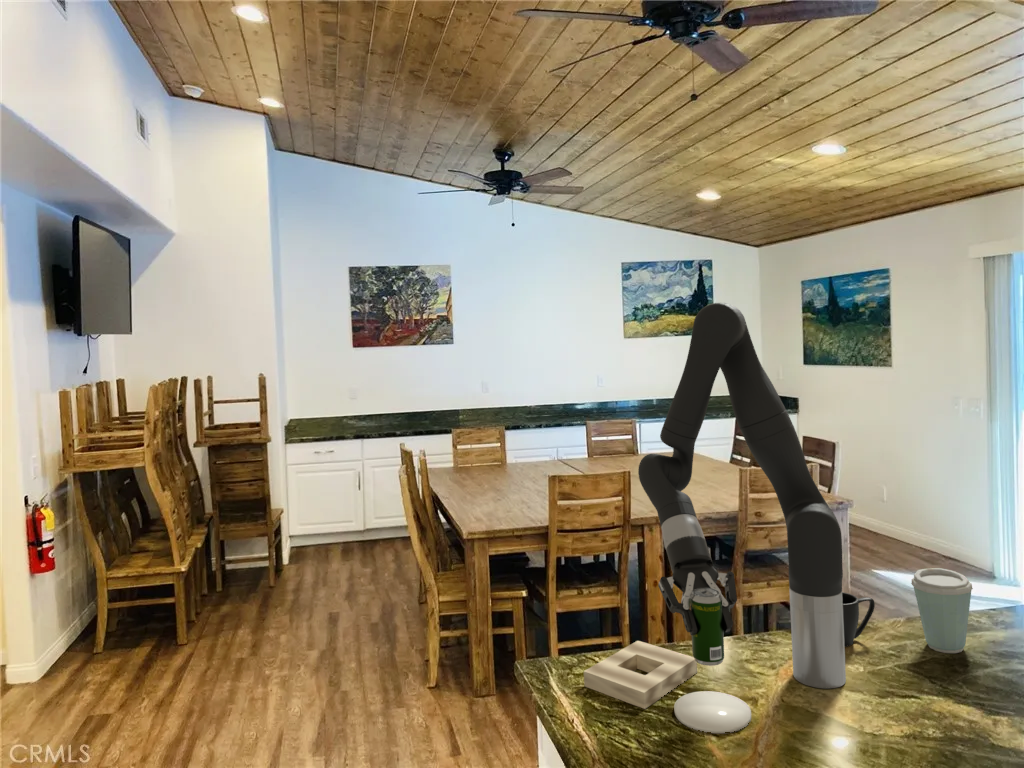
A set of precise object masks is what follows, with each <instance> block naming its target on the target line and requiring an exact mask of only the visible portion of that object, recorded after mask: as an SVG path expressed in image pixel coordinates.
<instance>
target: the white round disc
mask: <svg viewBox="0 0 1024 768" xmlns="http://www.w3.org/2000/svg"><path fill="white" fill-rule="evenodd" d="M673 708H674V715H675V717H676V719H677V721H679V722H680V723H681V724H683V725H684V726H685V727H688V728H689V729H692V728H693V729H692V730H695V731H698V730H700V731H699V732H702V731H704V732H703V733H707V732H711V733H710V734H726V733H725V732H730V733H735V732H738V731H741V730H743V729H745V728H746V727H748V726H749V724H750V723H751V721H752V710H751V707H750V706H749V705H748V703H747V702H745V701H744V700H742V699H740V697H737V696H734V695H731V694H729V693H724V692H720V691H714V690H712V691H711V690H710V691H708V690H703V691H692V692H689V693H686V694H683V695H682V696H680V697H679V698H678V699H677V700H676V701H675V702H674V705H673ZM749 722H750V723H749ZM748 723H749V724H748ZM744 727H745V728H744ZM742 728H743V729H742ZM740 729H741V730H740ZM734 731H735V732H734Z"/></svg>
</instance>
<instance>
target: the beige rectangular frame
mask: <svg viewBox="0 0 1024 768" xmlns="http://www.w3.org/2000/svg"><path fill="white" fill-rule="evenodd" d="M636 670H640V671H642V672H645V673H647V674H642V673H641V672H636ZM696 673H697V674H698V663H697V662H696V661H695V659H694V657H693V655H692V656H691V655H688V654H684V653H680V652H678V651H674V650H672V649H667V648H664V647H661V646H657V645H654V644H651V643H648V642H644V641H641V640H635V642H633V643H631V644H629V645H627V646H625V647H624V648H622V649H621V650H618V651H617V652H615V653H614V654H612V655H610V656H608V657H606V658H604V659H603V660H601V661H599V662H597V663H596V664H594V665H592V666H590V667H589V668H587V669H585V670H583V682H584V683H583V684H584V685H583V687H585V688H588V689H590V690H594V691H596V692H599V693H601V694H604V695H606V696H609V697H612V698H615V699H617V700H620V701H623V702H626V703H628V704H630V705H633V706H636V707H638V708H642V709H644V710H646V709H647V708H648V707H650V706H651V705H653V704H655V703H656V702H657V701H659V700H660V699H662V698H663V697H664V695H665V696H667V693H668V692H669V693H670V692H672V691H674V690H675V689H676V688H678V687H679V686H681V685H682V684H684V683H685V682H686V681H688V680H689V679H691V678H692V677H693V675H694V674H695V675H697V674H696ZM695 675H694V676H695ZM691 676H692V677H691ZM690 677H691V678H690ZM687 679H688V680H687ZM684 681H685V682H684ZM680 684H681V685H680ZM678 685H679V686H678ZM677 686H678V687H677ZM674 688H675V689H674ZM671 690H672V691H671ZM669 693H668V694H669ZM661 697H662V698H661Z"/></svg>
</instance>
